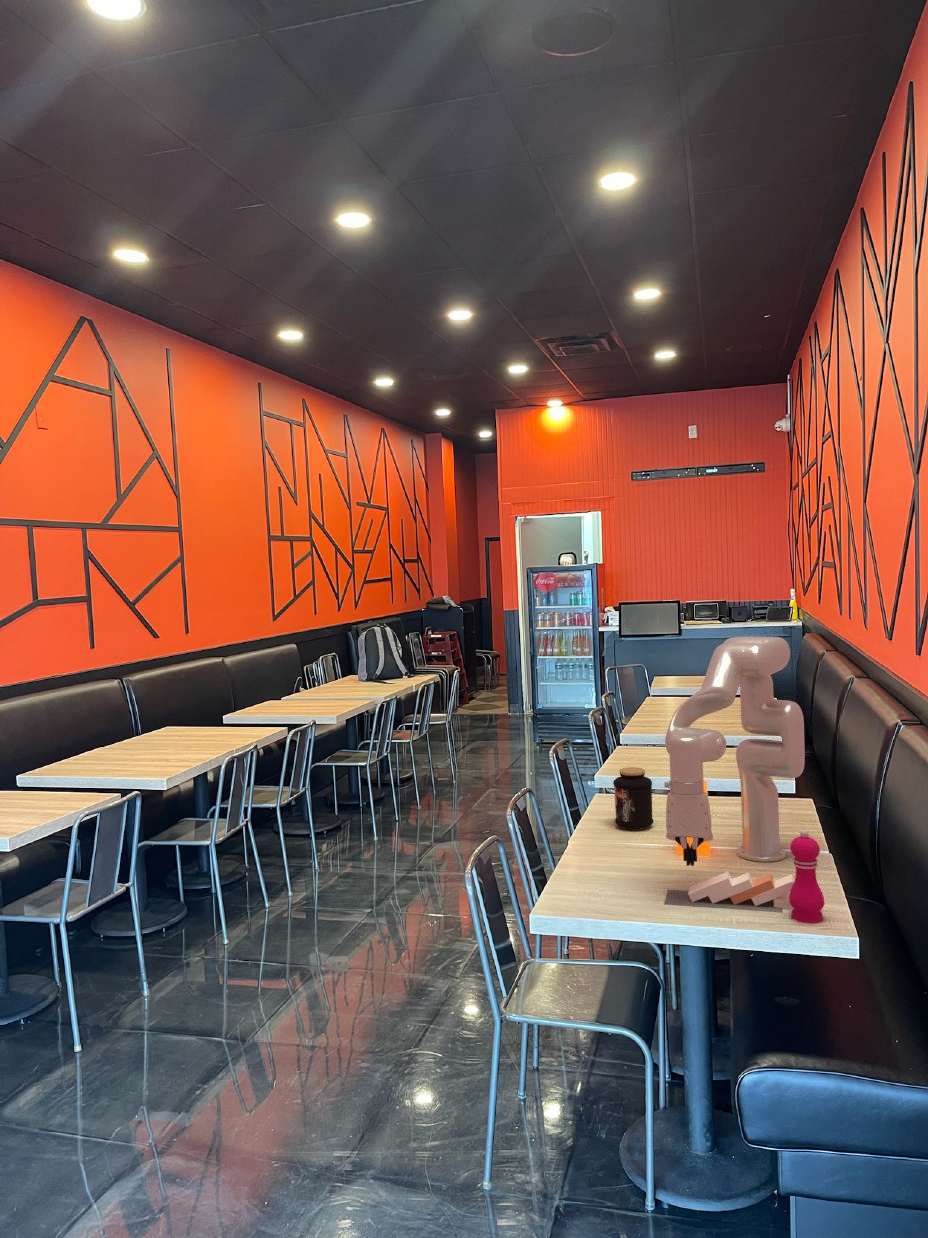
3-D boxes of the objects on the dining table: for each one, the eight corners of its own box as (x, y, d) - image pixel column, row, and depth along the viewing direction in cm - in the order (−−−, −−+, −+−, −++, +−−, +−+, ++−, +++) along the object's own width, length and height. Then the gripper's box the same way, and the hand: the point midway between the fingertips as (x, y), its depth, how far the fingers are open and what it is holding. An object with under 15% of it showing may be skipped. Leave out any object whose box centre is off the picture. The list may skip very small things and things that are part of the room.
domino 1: (688, 894, 203) (727, 878, 200) (689, 887, 208) (728, 871, 205) (692, 902, 203) (731, 886, 200) (693, 894, 208) (732, 879, 205)
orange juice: (710, 856, 237) (708, 783, 237) (677, 856, 239) (674, 783, 239) (708, 848, 245) (706, 777, 244) (676, 847, 247) (673, 777, 246)
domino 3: (729, 897, 200) (770, 880, 197) (730, 889, 205) (770, 873, 202) (734, 905, 200) (774, 888, 197) (734, 897, 205) (774, 881, 202)
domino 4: (751, 898, 199) (792, 881, 196) (751, 890, 204) (791, 874, 200) (755, 906, 199) (796, 889, 196) (755, 898, 203) (796, 882, 200)
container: (658, 831, 263) (654, 772, 262) (618, 833, 263) (614, 774, 263) (650, 821, 275) (647, 764, 275) (612, 823, 275) (609, 767, 275)
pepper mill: (816, 913, 195) (813, 824, 194) (830, 925, 188) (828, 833, 187) (784, 915, 195) (781, 826, 194) (797, 927, 187) (794, 835, 187)
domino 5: (774, 898, 197) (821, 905, 194) (773, 891, 202) (820, 897, 199) (773, 907, 197) (821, 913, 194) (773, 899, 202) (819, 905, 199)
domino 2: (708, 895, 202) (748, 879, 199) (709, 888, 207) (748, 872, 204) (712, 903, 202) (752, 887, 199) (713, 896, 206) (752, 880, 203)
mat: (667, 892, 212) (667, 889, 212) (781, 899, 204) (781, 896, 204) (663, 906, 203) (663, 904, 203) (782, 915, 194) (782, 912, 194)
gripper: (653, 790, 203) (656, 867, 204) (719, 792, 199) (723, 871, 200) (656, 782, 211) (659, 857, 211) (720, 784, 206) (724, 860, 207)
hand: (690, 864), depth 205 cm, fingers closed
